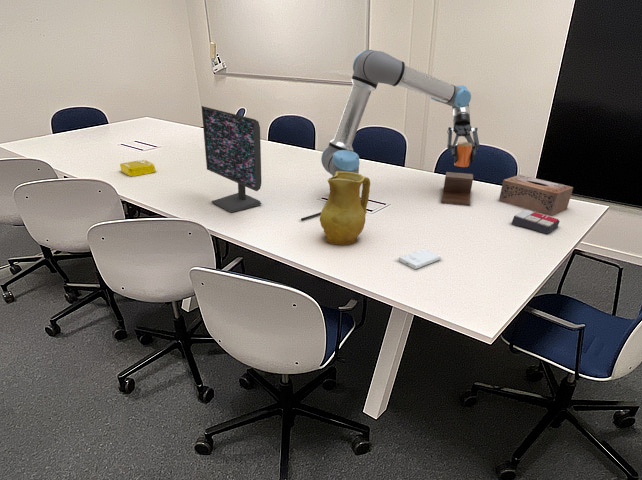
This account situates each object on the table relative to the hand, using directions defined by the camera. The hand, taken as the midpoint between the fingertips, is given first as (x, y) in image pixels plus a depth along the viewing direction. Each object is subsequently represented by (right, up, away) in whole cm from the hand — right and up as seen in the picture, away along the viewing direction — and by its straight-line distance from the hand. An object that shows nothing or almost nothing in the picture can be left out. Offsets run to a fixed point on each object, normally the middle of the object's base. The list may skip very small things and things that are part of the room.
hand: (464, 161), depth 203 cm
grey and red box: (+23, -32, -18) cm, 44 cm away
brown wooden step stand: (+1, -13, +14) cm, 19 cm away
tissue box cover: (+33, -19, +5) cm, 39 cm away
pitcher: (-57, -40, -30) cm, 75 cm away
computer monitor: (-105, -19, +3) cm, 107 cm away
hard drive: (-31, -49, -46) cm, 74 cm away
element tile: (-169, +9, +49) cm, 176 cm away
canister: (0, 0, +4) cm, 4 cm away
